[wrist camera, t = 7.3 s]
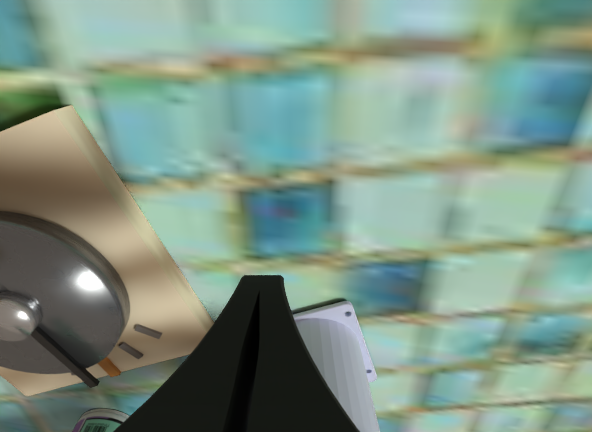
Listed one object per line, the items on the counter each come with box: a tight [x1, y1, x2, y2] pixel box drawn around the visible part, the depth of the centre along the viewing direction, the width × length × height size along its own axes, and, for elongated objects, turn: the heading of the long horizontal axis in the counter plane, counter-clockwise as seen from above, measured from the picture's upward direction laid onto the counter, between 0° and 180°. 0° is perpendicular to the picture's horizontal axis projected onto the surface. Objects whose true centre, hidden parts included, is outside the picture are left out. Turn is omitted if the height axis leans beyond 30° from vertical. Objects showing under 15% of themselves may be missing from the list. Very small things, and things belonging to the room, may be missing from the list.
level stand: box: [0, 105, 214, 396], centre depth 21 cm, size 18×17×2 cm
